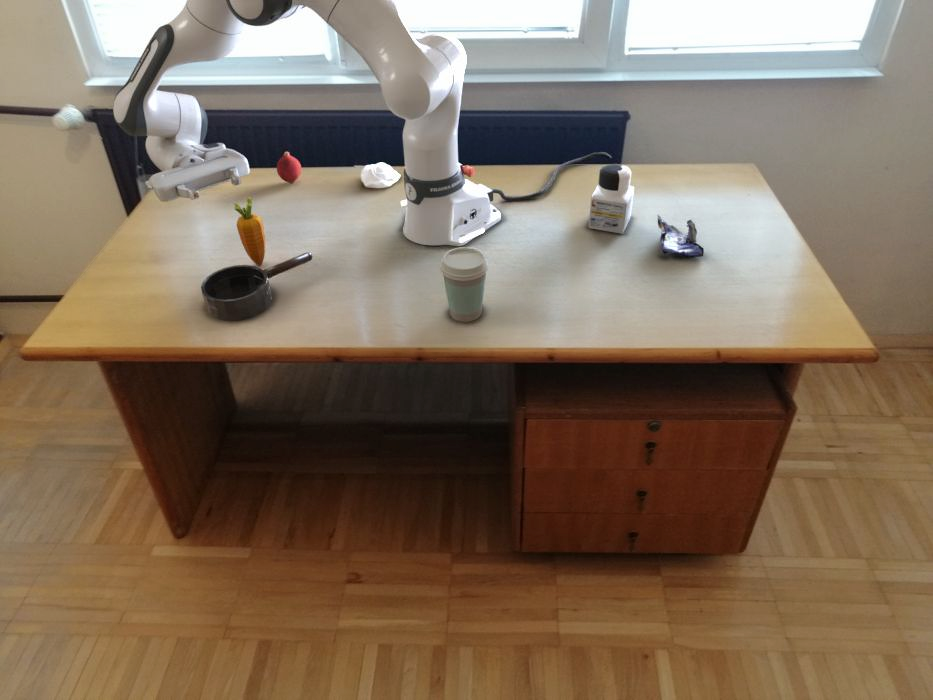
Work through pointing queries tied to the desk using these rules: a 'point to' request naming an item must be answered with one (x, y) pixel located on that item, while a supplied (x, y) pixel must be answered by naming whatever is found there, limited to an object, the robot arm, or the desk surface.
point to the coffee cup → (464, 282)
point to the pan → (236, 292)
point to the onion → (288, 168)
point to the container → (612, 199)
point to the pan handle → (288, 265)
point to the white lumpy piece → (378, 175)
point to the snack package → (679, 240)
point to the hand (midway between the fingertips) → (216, 188)
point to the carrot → (251, 233)
